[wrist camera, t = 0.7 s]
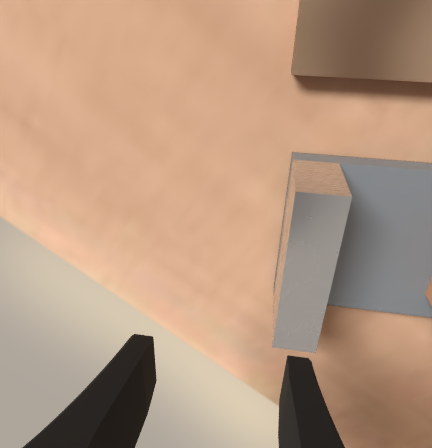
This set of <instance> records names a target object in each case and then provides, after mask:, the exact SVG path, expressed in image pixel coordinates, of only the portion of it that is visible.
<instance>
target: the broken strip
mask: <svg viewBox="0 0 432 448" xmlns="http://www.w3.org/2000/svg"><path fill="white" fill-rule="evenodd" d="M291 74H292V75H302V76H321V77H340V78H358V79H377V80H395V81H414V82H432V0H300V3H299V11H298V19H297V27H296V36H295V44H294V52H293V60H292V69H291Z"/></svg>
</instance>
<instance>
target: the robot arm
mask: <svg viewBox="0 0 432 448" xmlns="http://www.w3.org/2000/svg"><path fill="white" fill-rule="evenodd" d="M155 384H156V369H155V355H154V341H153V337H152V336H144V335H137V334H134V335H132V336H131V337H130V338H129V340H128V341H127V342H126V343H125V344H124V346H123V347H122V348H121V349H120V350H119V352H118V353H117V354H116V355H115V356H114V358H113V359H112V360H111V361H110V362H109V363H108V364H107V366H106V367H105V368H104V369H103V370H102V371H101V372H100V373H99V374H98V376H97V377H96V378H95V379H94V380H93V381H92V382H91V383H90V384H89V385H88V386H87V388H85V390H84V391H83V392H82V393H81V394H80V395H79V396H78V397H77V398H76V399H75V400H74V401H73V402H72V403H71V404H70V405H69V406H68V407H67V408H66V409H65V410H64V411H63V412H62V413H60V414H59V416H57V417H56V418H55V419H54V420H53V421H52V422H51V423H50V424H49V425H48V426H47V427H46V428H44V429H43V430H42V431H41V432H40V433H39V434H38V435H37V436H36V437H34V438H33V439H32V440H31V441H30V442H29V443H27V444H26V445H25V446H24V447H23V448H135V445H136V443H137V440H138V437H139V435H140V432H141V429H142V427H143V424H144V421H145V419H146V416H147V414H148V410H149V406H150V403H151V399H152V395H153V392H154V388H155ZM278 433H279V434H278V436H279V437H278V438H279V448H345V447H344V445H343V443H342V441H341V438H340V436H339V434H338V432H337V429H336V427H335V425H334V423H333V420H332V418H331V416H330V413H329V411H328V409H327V406H326V404H325V401H324V398H323V396H322V393H321V390H320V388H319V385H318V382H317V379H316V376H315V373H314V369H313V366H312V362H311V361H310V360H309V358H302V357H295V356H288V355H287V361H286V366H285V372H284V377H283V383H282V388H281V394H280V400H279V431H278Z"/></svg>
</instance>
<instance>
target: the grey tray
mask: <svg viewBox="0 0 432 448" xmlns="http://www.w3.org/2000/svg"><path fill="white" fill-rule="evenodd" d="M431 278H432V163H423V162H410V161H397V160H384V159H372V158H359V157H346V156H333V155H320V154H307V153H294V152H292V157H291V165H290V172H289V179H288V187H287V194H286V201H285V209H284V216H283V223H282V231H281V238H280V245H279V252H278V260H277V267H276V274H275V282H274V299H273V340H272V347H275V348H282V349H290V350H297V351H304V352H311V353H316V350H317V345H318V341H319V337H320V333H321V328H322V324H323V320H324V315H325V311H326V307H327V305H332V306H341V307H349V308H357V309H365V310H373V311H381V312H390V313H398V314H406V315H414V316H422V317H430V318H432V306H431V304H430V302H429V300H428V298H427V296H426V294H425V293H426V291H427V288H428V286H429V283H430V281H431Z"/></svg>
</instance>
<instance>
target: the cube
mask: <svg viewBox="0 0 432 448" xmlns="http://www.w3.org/2000/svg"><path fill="white" fill-rule="evenodd" d="M425 294H426V296H427V298H428V300H429V302H430V304H431V306H432V278H431V281H430V283H429V286H428V288H427V291H426V293H425Z"/></svg>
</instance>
